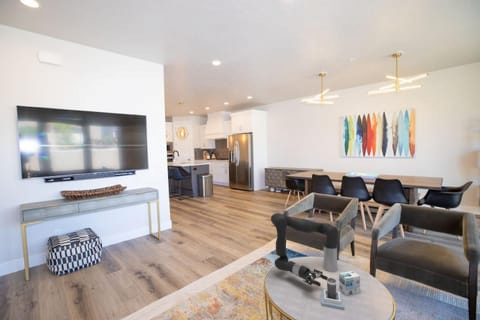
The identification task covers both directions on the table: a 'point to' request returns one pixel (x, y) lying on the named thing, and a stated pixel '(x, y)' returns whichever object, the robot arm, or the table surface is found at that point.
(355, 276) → the light bulb box
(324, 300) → the blue square socket base
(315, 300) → the table surface
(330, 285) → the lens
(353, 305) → the table surface
